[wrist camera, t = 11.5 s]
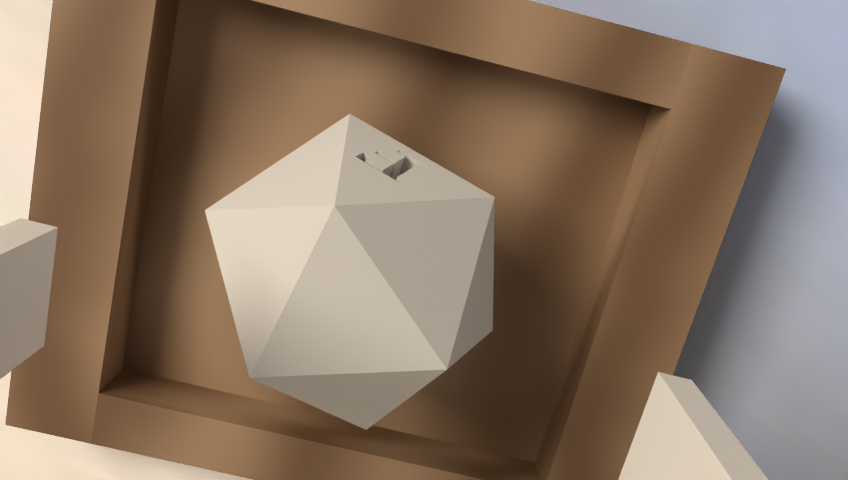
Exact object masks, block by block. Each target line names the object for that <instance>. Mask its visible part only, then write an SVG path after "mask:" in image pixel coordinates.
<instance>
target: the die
mask: <svg viewBox="0 0 848 480" xmlns="http://www.w3.org/2000/svg"><path fill="white" fill-rule="evenodd" d="M494 208H495V197H494V196H492V195H490V194H488V193H487V192H485V191H483V190H482V189H480V188H478V187H476V186H475V185H473V184H471V183H469V182H468V181H466V180H464V179H462V178H461V177H459V176H457V175H455V174H454V173H452V172H450V171H449V170H447V169H445V168H443V167H442V166H440V165H438V164H436V163H435V162H433V161H431V160H429V159H428V158H426V157H424V156H423V155H421V154H419V153H417V152H416V151H414V150H412V149H410V148H409V147H407V146H405V145H403V144H402V143H400V142H398V141H397V140H395V139H393V138H391V137H390V136H388V135H386V134H384V133H383V132H381V131H379V130H377V129H376V128H374V127H372V126H370V125H369V124H367V123H365V122H364V121H362V120H360V119H358V118H357V117H355V116H353V115H351V114H348V115H347V116H345V117H344V118H342V119H341V120H339V121H338V122H336V123H335V124H333V125H332V126H330V127H329V128H327V129H326V130H324V131H323V132H321V133H320V134H318V135H317V136H315V137H314V138H312V139H311V140H309V141H308V142H306V143H305V144H303V145H302V146H300V147H299V148H297V149H296V150H294V151H293V152H291V153H290V154H288V155H287V156H285V157H284V158H282V159H281V160H279V161H278V162H276V163H275V164H273V165H272V166H270V167H269V168H267V169H266V170H264V171H263V172H261V173H260V174H258V175H257V176H255V177H254V178H252V179H251V180H249V181H248V182H246V183H245V184H243V185H242V186H240V187H239V188H237V189H236V190H234V191H233V192H231V193H230V194H228V195H227V196H225V197H224V198H222V199H221V200H219V201H218V202H216V203H215V204H213V205H212V206H210V207H209V208H207V209H206V210H205V213H206V217H207V221H208V224H209V228H210V232H211V235H212V239H213V243H214V247H215V250H216V254H217V258H218V262H219V265H220V269H221V273H222V277H223V280H224V284H225V288H226V292H227V295H228V299H229V303H230V307H231V310H232V314H233V318H234V322H235V325H236V329H237V333H238V337H239V340H240V344H241V348H242V351H243V355H244V359H245V363H246V366H247V370H248V374H249V378H251V379H253V380H256V381H258V382H260V383H262V384H265V385H267V386H269V387H271V388H274V389H276V390H278V391H280V392H283V393H285V394H287V395H289V396H292V397H294V398H296V399H298V400H300V401H303V402H305V403H307V404H309V405H312V406H314V407H316V408H318V409H321V410H323V411H325V412H327V413H330V414H332V415H334V416H336V417H339V418H341V419H343V420H345V421H348V422H350V423H352V424H354V425H356V426H359V427H361V428H363V429H365V430H367V429H368V428H369V427H371V426H372V425H374V424H375V423H376V422H378V421H379V420H380V419H382V418H383V417H384V416H386V415H387V414H388V413H390V412H391V411H392V410H394V409H395V408H396V407H398V406H399V405H400V404H402V403H403V402H404V401H406V400H407V399H408V398H410V397H411V396H412V395H414V394H415V393H416V392H418V391H419V390H420V389H422V388H423V387H424V386H426V385H427V384H428V383H430V382H431V381H432V380H434V379H435V378H436V377H438V376H439V375H440V374H442V373H443V372H444V371H446V370H447V369H448V368H449V367H451V366H452V365H453V364H454V363H455V362H456V361H458V360H459V359H460V358H461V357H462V356H463V355H465V354H466V353H467V352H468V351H469V350H470V349H471V348H473V347H474V346H475V345H476V344H477V343H478V342H480V341H481V340H482V339H483V338H484V337H485V336H487V335H488V334H489V333H490V332H491V331H492V330H493V278H494Z"/></svg>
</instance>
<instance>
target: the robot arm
mask: <svg viewBox="0 0 848 480" xmlns="http://www.w3.org/2000/svg"><path fill="white" fill-rule="evenodd" d="M57 231H58V227H55V226H51V225H46V224H42V223H38V222H34V221H30V220H26V219H22V218H21V219H19V220H16V221H14V222H11V223H9V224H7V225H4V226H2V227H0V379H1V378H2V377H4V376H5V375H6V374H8V373H9V372H10V371H12V370H13V369H14V368H15V367H17V366H18V365H19V364H21V363H22V362H23V361H25V360H26V359H27V358H29V357H30V356H31V355H33V354H34V353H35V352H37V351H38V350H39V349H40V348H42V347H43V346H44V342H45V334H46V325H47V316H48V308H49V299H50V291H51V282H52V274H53V265H54V256H55V248H56V239H57ZM618 480H768V479H767V477H766V476H765V475H764V473H763V472H762V471H761V470H760V468H759V467H758V466H757V464H756V463H755V462H754V460H753V459H752V458H751V457H750V455H749V454H748V453H747V451H746V450H745V449H744V447H743V446H742V445H741V444H740V442H739V441H738V440H737V438H736V437H735V436H734V434H733V433H732V432H731V431H730V429H729V428H728V427H727V425H726V424H725V423H724V421H723V420H722V419H721V417H720V416H719V415H718V414H717V412H716V411H715V410H714V408H713V407H712V406H711V404H710V403H709V402H708V401H707V399H706V398H705V397H704V395H703V394H702V393H701V391H700V390H699V389H698V388H697V386H696V385H695V384H694V382H693V381H692V380H690V379H686V378H681V377H677V376H673V375H669V374H665V373H661V372H658V374H657V376H656V379H655V382H654V385H653V387H652V390H651V393H650V395H649V398H648V401H647V403H646V406H645V409H644V412H643V414H642V417H641V420H640V422H639V425H638V428H637V431H636V433H635V436H634V439H633V441H632V444H631V447H630V449H629V452H628V455H627V458H626V460H625V463H624V466H623V468H622V471H621V474H620V476H619V479H618Z"/></svg>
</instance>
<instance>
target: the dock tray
mask: <svg viewBox="0 0 848 480" xmlns="http://www.w3.org/2000/svg"><path fill="white" fill-rule="evenodd" d="M785 70H786V69H784V68H780V67H777V66H773V65H769V64H765V63H762V62H758V61H754V60H750V59H747V58H743V57H739V56H735V55H732V54H728V53H724V52H720V51H717V50H713V49H709V48H705V47H701V46H698V45H694V44H690V43H686V42H683V41H679V40H675V39H671V38H668V37H664V36H660V35H656V34H653V33H649V32H645V31H641V30H637V29H634V28H630V27H626V26H622V25H619V24H615V23H611V22H607V21H604V20H600V19H596V18H592V17H589V16H585V15H581V14H577V13H574V12H570V11H566V10H562V9H558V8H555V7H551V6H547V5H543V4H540V3H536V2H532V1H528V0H53V5H52V14H51V23H50V32H49V41H48V50H47V59H46V68H45V77H44V86H43V95H42V103H41V112H40V121H39V130H38V139H37V148H36V157H35V166H34V175H33V184H32V193H31V202H30V211H29V220H30V221H34V222H38V223H42V224H46V225H51V226H55V227H58V231H57V239H56V248H55V256H54V265H53V274H52V282H51V291H50V299H49V308H48V316H47V325H46V334H45V342H44V346H43V347H42V348H40V349H39V350H38V351H37V352H35V353H34V354H33V355H31V356H30V357H29V358H27V359H26V360H25V361H23V362H22V363H21V364H19V365H18V366H17V367H15V368H14V369H13V370H12V372H11V381H10V389H9V398H8V407H7V416H6V425H9V426H14V427H18V428H23V429H27V430H32V431H37V432H41V433H46V434H50V435H55V436H59V437H64V438H68V439H73V440H77V441H82V442H86V443H91V444H96V445H100V446H105V447H109V448H114V449H118V450H123V451H127V452H132V453H136V454H141V455H145V456H150V457H155V458H159V459H164V460H168V461H173V462H177V463H182V464H186V465H191V466H195V467H200V468H204V469H209V470H213V471H218V472H223V473H227V474H232V475H236V476H241V477H245V478H250V479H254V480H618V479H619V476H620V474H621V471H622V468H623V466H624V463H625V460H626V458H627V455H628V452H629V449H630V447H631V444H632V441H633V439H634V436H635V433H636V431H637V428H638V425H639V422H640V420H641V417H642V414H643V412H644V409H645V406H646V403H647V401H648V398H649V395H650V393H651V390H652V387H653V385H654V382H655V379H656V376H657V374H658V372H661V373H665V374H669V375H673V373H674V371H675V368H676V365H677V363H678V360H679V357H680V354H681V352H682V349H683V346H684V344H685V341H686V338H687V335H688V333H689V330H690V327H691V325H692V322H693V319H694V317H695V314H696V311H697V308H698V306H699V303H700V300H701V298H702V295H703V292H704V289H705V287H706V284H707V281H708V279H709V276H710V273H711V271H712V268H713V265H714V262H715V260H716V257H717V254H718V252H719V249H720V246H721V243H722V241H723V238H724V235H725V233H726V230H727V227H728V225H729V222H730V219H731V216H732V214H733V211H734V208H735V206H736V203H737V200H738V197H739V195H740V192H741V189H742V187H743V184H744V181H745V179H746V176H747V173H748V170H749V168H750V165H751V162H752V160H753V157H754V154H755V151H756V149H757V146H758V143H759V141H760V138H761V135H762V132H763V130H764V127H765V124H766V122H767V119H768V116H769V114H770V111H771V108H772V105H773V103H774V100H775V97H776V95H777V92H778V89H779V86H780V84H781V81H782V78H783V76H784V73H785ZM348 114H351V115H353V116H355V117H357V118H358V119H360V120H362V121H364V122H365V123H367V124H369V125H370V126H372V127H374V128H376V129H377V130H379V131H381V132H383V133H384V134H386V135H388V136H390V137H391V138H393V139H395V140H397V141H398V142H400V143H402V144H403V145H405V146H407V147H409V148H410V149H412V150H414V151H416V152H417V153H419V154H421V155H423V156H424V157H426V158H428V159H429V160H431V161H433V162H435V163H436V164H438V165H440V166H442V167H443V168H445V169H447V170H449V171H450V172H452V173H454V174H455V175H457V176H459V177H461V178H462V179H464V180H466V181H468V182H469V183H471V184H473V185H475V186H476V187H478V188H480V189H482V190H483V191H485V192H487V193H488V194H490V195H492V196H494V197H495V208H494V278H493V330H492V331H491V332H490V333H489V334H488V335H487V336H485V337H484V338H483V339H482V340H481V341H480V342H478V343H477V344H476V345H475V346H474V347H473V348H471V349H470V350H469V351H468V352H467V353H466V354H465V355H463V356H462V357H461V358H460V359H459V360H458V361H456V362H455V363H454V364H453V365H452V366H451V367H449V368H448V369H447V370H446V371H444V372H443V373H442V374H440V375H439V376H438V377H436V378H435V379H434V380H432V381H431V382H430V383H428V384H427V385H426V386H424V387H423V388H422V389H420V390H419V391H418V392H416V393H415V394H414V395H412V396H411V397H410V398H408V399H407V400H406V401H404V402H403V403H402V404H400V405H399V406H398V407H396V408H395V409H394V410H392V411H391V412H390V413H388V414H387V415H386V416H384V417H383V418H382V419H380V420H379V421H378V422H376V423H375V424H374V425H372V426H371V427H369V428H368V429H367V430H365V429H363V428H361V427H359V426H356V425H354V424H352V423H350V422H348V421H345V420H343V419H341V418H339V417H336V416H334V415H332V414H330V413H327V412H325V411H323V410H321V409H318V408H316V407H314V406H312V405H309V404H307V403H305V402H303V401H300V400H298V399H296V398H294V397H292V396H289V395H287V394H285V393H283V392H280V391H278V390H276V389H274V388H271V387H269V386H267V385H265V384H262V383H260V382H258V381H256V380H253V379H251V378H249V374H248V370H247V366H246V363H245V359H244V355H243V351H242V348H241V344H240V340H239V337H238V333H237V329H236V325H235V322H234V318H233V314H232V310H231V307H230V303H229V299H228V295H227V292H226V288H225V284H224V280H223V277H222V273H221V269H220V265H219V262H218V258H217V254H216V250H215V247H214V243H213V239H212V235H211V232H210V228H209V224H208V221H207V217H206V213H205V210H206V209H207V208H209V207H210V206H212V205H213V204H215V203H216V202H218V201H219V200H221V199H222V198H224V197H225V196H227V195H228V194H230V193H231V192H233V191H234V190H236V189H237V188H239V187H240V186H242V185H243V184H245V183H246V182H248V181H249V180H251V179H252V178H254V177H255V176H257V175H258V174H260V173H261V172H263V171H264V170H266V169H267V168H269V167H270V166H272V165H273V164H275V163H276V162H278V161H279V160H281V159H282V158H284V157H285V156H287V155H288V154H290V153H291V152H293V151H294V150H296V149H297V148H299V147H300V146H302V145H303V144H305V143H306V142H308V141H309V140H311V139H312V138H314V137H315V136H317V135H318V134H320V133H321V132H323V131H324V130H326V129H327V128H329V127H330V126H332V125H333V124H335V123H336V122H338V121H339V120H341V119H342V118H344V117H345V116H347V115H348Z"/></svg>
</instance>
